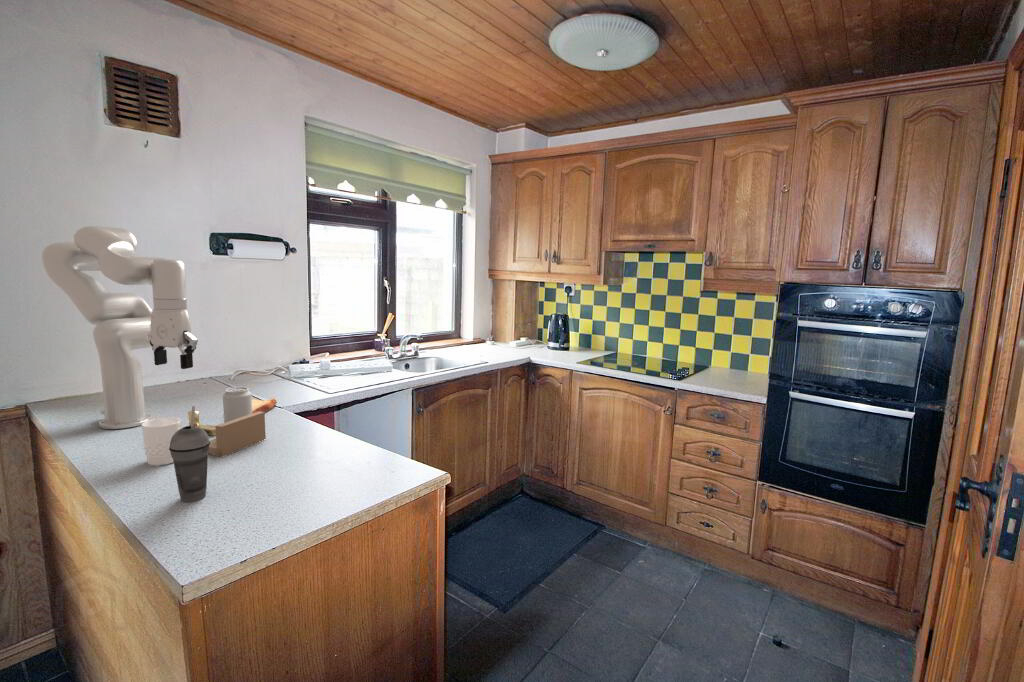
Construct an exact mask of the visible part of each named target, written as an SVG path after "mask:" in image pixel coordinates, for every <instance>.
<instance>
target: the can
mask: <svg viewBox="0 0 1024 682" xmlns="http://www.w3.org/2000/svg"><path fill="white" fill-rule="evenodd" d="M224 391H225V392H224V394H222V404H223V423H225V422H228V421H231V420H234V419H237V418H240V417H243V416H246V415H249V414H252V399H253V397H252V392H251V391H250V388H249V387H247V386H246V387H245V386H237V387H235V386H234V387H229V388H226V389H225V390H224Z"/></svg>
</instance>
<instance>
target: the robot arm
mask: <svg viewBox="0 0 1024 682" xmlns="http://www.w3.org/2000/svg"><path fill="white" fill-rule="evenodd" d="M136 238H137V237H135V235H134V234H133V233H132V232H131V231H130V230H128V229H125V228H121V227H110V226H98V225H95V226H94V225H90V226H89V225H87V226H83V227H81V228H79V229H78V230H76V231H75V233H74V235H73V242H72V241H70V242H67V241H65V242H62V241H61V242H54V243H51V244H49V245H47V246H45V247H44V248H43V250H42V252H41V253H42V254H41V261H42V266H43V268H44V269H45V272H46V274H47V276H48V277H49V278H50V280H51V281H52V282H53V283H54V284H55V285H56V286H57V287H58V288H60V290H61V291H63V292H64V293H65V294H66V295H67V296H68V297H69V299H70V300H71V302H72V303H73V305H74V306H75V307H76V308H77V310H78V311H79V313H80V314H81V315H82V316H83V318H84V319H85V320H86V322H88V323H90V324H92V325H94V328H93V330H92V338H93V341H94V344H95V347H96V350H97V353H98V358H99V359H98V360H99V364H100V374H101V383H102V384H101V385H102V394H103V395H102V396H103V403H104V404H103V405H104V408H103V409H101V410H100V411H99V413H100V414H101V415H104V417H103V419H102V420H100V421H99V422H98V427H99V428H102V429H106V430H120V429H122V430H123V429H129V428H134V427H138V426H142V425H141V424H142V423H144V422H146V421H148V420H152V419H153V415H151V414H150V413H146V406H145V396H144V395H145V392H144V384H143V383H144V382H143V380H144V379H143V371H142V370H143V369H142V363H141V361H140V359H138V358H137V356H136V355H134V353H133V352H132V351H135V350H142V349H148V348H151V350H152V351H153V360H154V365H155V366H160V365H161V366H162V365H167V364H168V357H167V356H168V355H167V354H168V353H167V349H165V348H173V349H174V348H175V349H176V348H178V349H179V351H180V353H181V354H180V355H179V357H180V359H179V360H180V369H181V370H186V369H191V368H193V367H194V360H193V354H195V350H196V349H197V345H198V341H199V339H198V338H196V336H194V335H193V334H192V328H191V327H192V326H191V321H190V316H189V312H188V304H187V301H188V300H187V287H186V286H187V284H186V268H185V267H186V266H185V263H184V262H183V261H182V260H180V259H179V260H178V259H168V258H164V257H163V258H162V257H147V256H135V255H136V251H137V248H138V242H137V241H138V240H137V239H136ZM85 272H101V273H102V275H103V276H104V277H106V278H108V279H109V280H110V281H113V282H114V283H116V284H120V285H123V286H139V285H140V286H142V285H143V286H144V285H147V286H152V299H153V300H152V302H153V309H152V308H151V307H150V305H149V304H148V303H147V302H146V300H145V299H144V298H143V297H142V296H140V295H139V294H136V293H133V292H109V291H107V290H106V289H105V287H104V286H103V285H102V283H100V281H98V280H97V279H95V278H94V277H93V276H91V275H90V274H89V275H88V274H87V273H85Z"/></svg>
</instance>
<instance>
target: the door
mask: <svg viewBox="0 0 1024 682" xmlns="http://www.w3.org/2000/svg"><path fill="white" fill-rule="evenodd" d="M265 415H266V414H265V412H260V411H258V412H255V413H252V414H249V415H246V416H243V417H240V418H237V419H234V420H231V421H228V422H225V423H224V422H223V423H220V424H217V425H212V424H207V423H200V422H199V425H205V426H211V427H216V435H214V436H212V435H208V437H209V441H210V445H209V454H208V455H211V454H214V455H213V456H216V455H218V456H217V457H221V456H224V457H226V456H229V455H231V454H233V453H232V452H234V453H236V452H238V451H237V450H239V449H241V450H243V449H242V448H244V449H246V448H248V447H251V446H253V445H256V444H258V443H260V442H259V441H261V442H263V441H265V440H264V439H266V437H267V436H266V417H265ZM186 426H189V422H188V423H186V424H182V425H181V428H183V427H186ZM205 432H206V431H205ZM262 440H263V441H262ZM257 442H258V443H257ZM255 443H256V444H255ZM252 444H253V445H252ZM250 445H251V446H250ZM247 446H248V447H247ZM245 447H246V448H245ZM235 451H236V452H235ZM239 451H240V450H239ZM230 453H231V454H230ZM228 454H229V455H228ZM225 455H226V456H225Z"/></svg>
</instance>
